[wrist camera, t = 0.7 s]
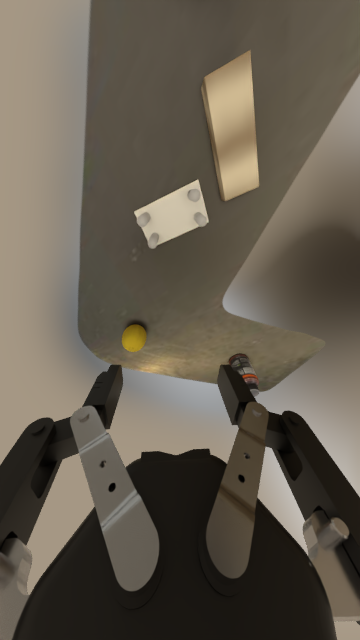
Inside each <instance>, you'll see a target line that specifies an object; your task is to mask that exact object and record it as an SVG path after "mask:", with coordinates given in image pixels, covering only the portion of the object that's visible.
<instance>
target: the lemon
mask: <svg viewBox="0 0 360 640" xmlns="http://www.w3.org/2000/svg"><path fill="white" fill-rule="evenodd" d="M145 341H146V332H145V330H144V328H143V327H142V326H140V325H130V326H129V327H127V328H126V329H125V331H124V333H123V335H122V344H123V346H124V348H125V349H126V350H128V351H131V352H135V351H138V350H140V349H141V348H142V347H143V346H144V344H145Z"/></svg>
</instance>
